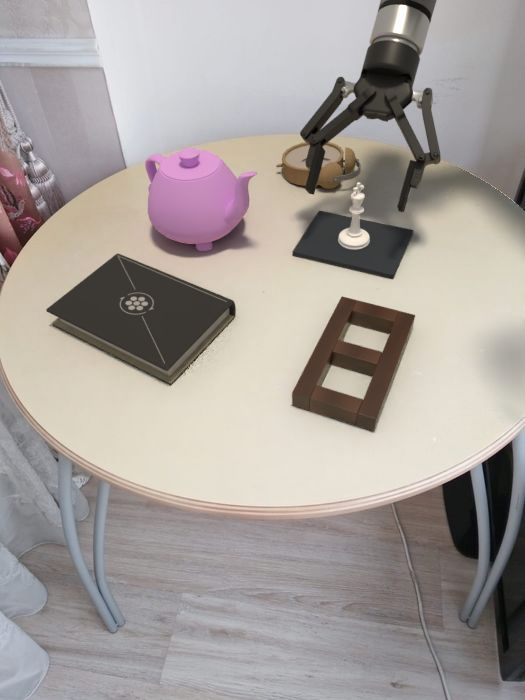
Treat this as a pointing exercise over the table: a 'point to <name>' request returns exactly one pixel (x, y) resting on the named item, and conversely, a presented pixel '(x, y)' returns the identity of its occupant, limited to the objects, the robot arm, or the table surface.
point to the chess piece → (355, 224)
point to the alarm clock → (330, 167)
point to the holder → (354, 363)
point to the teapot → (195, 197)
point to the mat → (371, 259)
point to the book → (143, 316)
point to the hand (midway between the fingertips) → (353, 200)
